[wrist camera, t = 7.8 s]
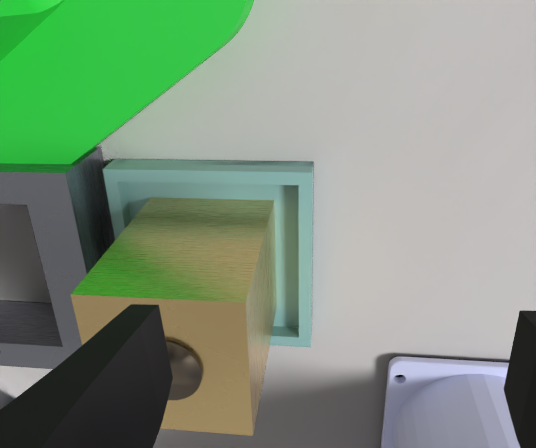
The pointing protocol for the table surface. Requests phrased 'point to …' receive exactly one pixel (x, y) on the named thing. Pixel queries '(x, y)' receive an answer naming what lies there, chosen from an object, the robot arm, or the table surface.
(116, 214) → the tray
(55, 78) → the mechanical part
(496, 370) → the robot arm
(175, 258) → the block
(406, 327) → the table surface
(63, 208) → the grey slotted block
